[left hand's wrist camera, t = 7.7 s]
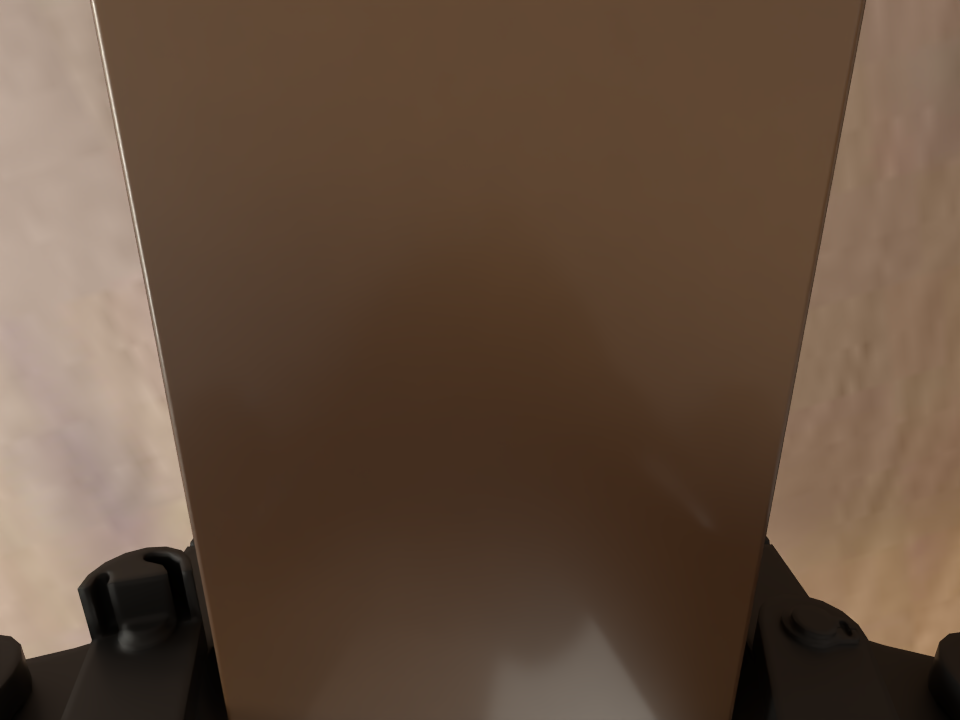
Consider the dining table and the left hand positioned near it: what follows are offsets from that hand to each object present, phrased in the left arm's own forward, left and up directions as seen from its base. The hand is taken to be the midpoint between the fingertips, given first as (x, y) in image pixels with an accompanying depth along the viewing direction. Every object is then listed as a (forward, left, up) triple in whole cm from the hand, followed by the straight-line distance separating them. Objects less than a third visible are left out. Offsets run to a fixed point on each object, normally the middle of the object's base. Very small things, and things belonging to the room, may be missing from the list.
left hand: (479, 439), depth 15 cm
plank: (+16, +3, -1) cm, 16 cm away
